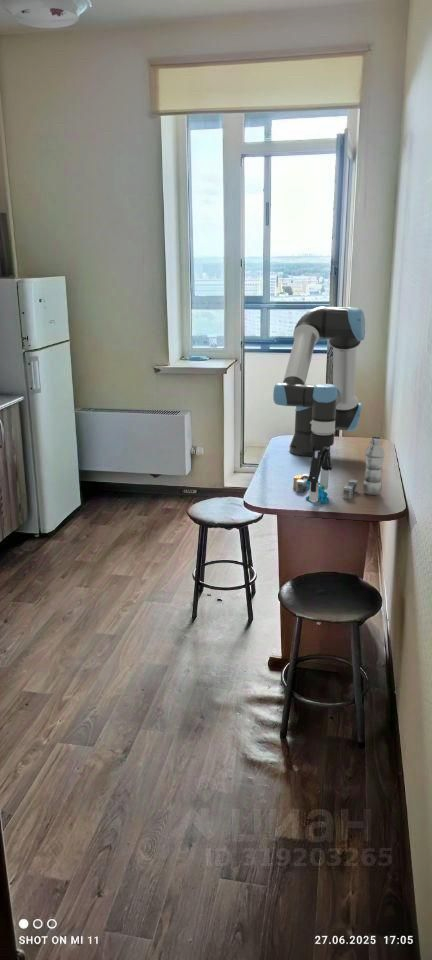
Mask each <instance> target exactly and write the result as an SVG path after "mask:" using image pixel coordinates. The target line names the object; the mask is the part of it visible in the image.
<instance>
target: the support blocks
mask: <svg viewBox="0 0 432 960" xmlns="http://www.w3.org/2000/svg"><path fill="white" fill-rule="evenodd" d="M309 474H310V473H303V474H302V475H301V474H296V475H295V476H294V477H293V486H292V489H295V492H297V493H304V492H306V490H307V489H308V488H307V485H308V484H307V483H306V481H308V478H309ZM357 491H358V480H357V479H356V480H355V479H349V480H348V484H347V485H344V487H343V491H342V492H343V495H342V499H345V500H351V499H352V498H353V494H355V493H357Z"/></svg>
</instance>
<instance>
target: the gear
mask: <svg viewBox="0 0 432 960" xmlns="http://www.w3.org/2000/svg"><path fill="white" fill-rule="evenodd" d="M308 479H309V478H308ZM306 483H307V484H308V485H307V489H308V490H310V482H309V481H306ZM324 488H325V486H324V485H323V486H321V487H320V482H319V489H318V501H319V502H320V503H321V504H327V503H328V501H329V497H328V492H326V491H325V490H326V489H324ZM305 499H306V500H307V501H308V500H309V495H307V496H306V497H305ZM309 501H310V500H309Z"/></svg>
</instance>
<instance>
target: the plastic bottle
mask: <svg viewBox="0 0 432 960" xmlns="http://www.w3.org/2000/svg"><path fill="white" fill-rule="evenodd" d="M382 441H383V438H382V437H380V436H371V437H370V442H369V443H370V444H369V446H368V447H367V448H366V449H365V455H364V456H365V473H364V479H363V482H362V492H363V493H365V494H367V495H370V496H378V495H379V494H380V493H381V492H382V488H383V486H382V471H383V470H382V468H383V462H384V458H385V454H386V453H385V450H384V448H383V447H382V445H381V444H382Z"/></svg>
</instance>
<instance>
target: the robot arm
mask: <svg viewBox="0 0 432 960" xmlns="http://www.w3.org/2000/svg"><path fill="white" fill-rule="evenodd" d="M292 336H293V339H294V340H293V344H292V348H291V351H290V355H289V359H288V362H287V366H286V370H285V374H284V377H283V381H282V382H277V383H276V384H275V385H274V387H273V394H272V396H273V398H272V399H273V403H274V404H275V405H277V406H281V407H282V406H284V407H295V410H294V411H295V416H294V417H295V418H294V419H295V421H294V433H293V436H292V438H291V442H290V444H289V452H290V453H291V454H294V455H297V456H303V457H311V464H310V469H309V473H308V474H309V479H308V481H309V482H310V489H309V494H308V496H309V501H312V502H318V501H319V499H318V489H319V486H320V487H321V486H323V485H324V486H325V488H324V489H325V490H328V489H329V480H330V479H329V477H330V471H332V469H333V467H332V459H331V458H332V457H331V446H334V443H335V432H336V431H345V432H350V431H351V432H353V431H354V432H355V431H356V430H357V429H358V426H359V422H360V416H361V411H362V406H363V403H362V402H359V398H358V397H357V396H356V394H355V392H356V368H357V367H356V366H357V365H356V361H357V348H358V347H359V346H360V345H361V341H364V340H365V336H366V319H365V313H364V311H363V309H362V308H359V307H353V306H349V307H348V306H347V307H346V306H344V307H342V306H317V307H314V308H312V309H310V310H309V311H307V312H306V313H305V314H303V315H302V316H301V317H300V319H299V320H298V321H297V322H296V324H295V326H294V330H293V334H292ZM320 339H323V340H328V343H329V346H330V347H332V384H331V383H319V384H306V382H307V378H308V373H309V369H310V365H311V362H312V357H313V353H314V348H315V345H316V344H317V343H318V342H319V340H320ZM319 483H320V485H319Z"/></svg>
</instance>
